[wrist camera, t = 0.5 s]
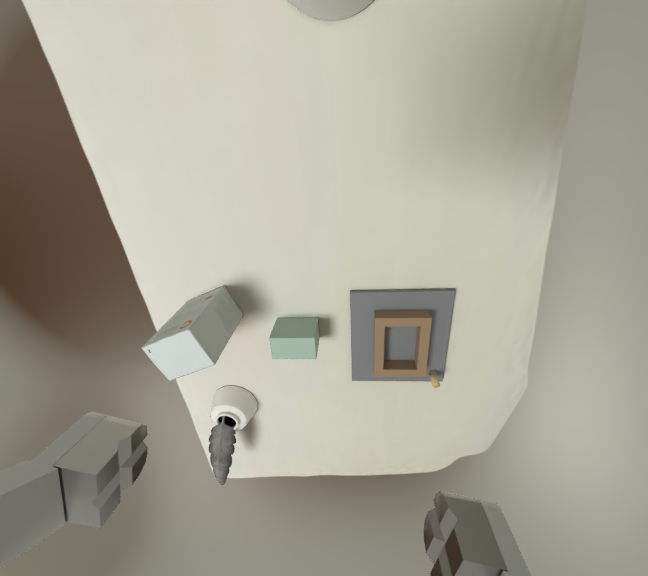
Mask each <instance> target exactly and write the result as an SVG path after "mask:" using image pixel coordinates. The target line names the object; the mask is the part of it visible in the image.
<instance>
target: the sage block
mask: <svg viewBox="0 0 648 576" xmlns="http://www.w3.org/2000/svg"><path fill="white" fill-rule="evenodd" d="M269 340H270V346H271V353H272V359H316V357H317V351H318V344H319V324H318V317H314V318H277V320H276V322H275V325H274V327H273V330H272V332H271V335H270V337H269Z"/></svg>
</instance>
